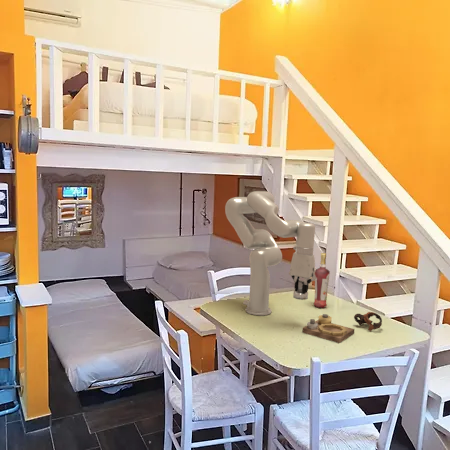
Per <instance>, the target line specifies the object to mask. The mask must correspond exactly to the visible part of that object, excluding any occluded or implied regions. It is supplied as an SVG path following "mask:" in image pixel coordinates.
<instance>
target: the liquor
mask: <svg viewBox="0 0 450 450" xmlns="http://www.w3.org/2000/svg"><path fill="white" fill-rule="evenodd" d="M326 259H327V253H326V252H321V253H320V263H319V264H320V265H319V268H317V269H316V268H315V276H316V280H314V302H313V305H314V306H315V308H318V309H324V308H326V307H327V306H328V304H327V298H328V291H329V281H330V274H331V273H330V272H331V271H330V270H329V269H328V268H326V267H327V265H326V264H327V263H326Z"/></svg>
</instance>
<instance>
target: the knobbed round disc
mask: <svg viewBox="0 0 450 450" xmlns="http://www.w3.org/2000/svg"><path fill="white" fill-rule="evenodd" d="M303 284H304V279H303V280H301V279H299V281H298V289H297V291H295V290H293V292H292V294H293V295H292V296H293V298H294V299H295V300H302V301H303V300H304V301H305V300H308V299H309V292H308V291H307V292H306V293H303Z"/></svg>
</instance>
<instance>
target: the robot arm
mask: <svg viewBox="0 0 450 450" xmlns="http://www.w3.org/2000/svg"><path fill="white" fill-rule="evenodd" d="M224 209H225V212H224V213H225V216H226V219H227V220H228V222H229V224H230V225H231V226H232V228H233V229H234V230H235V232H236V234H237V236H238V238H239V239H240V242H241V243H242V245H243V246H244V247H245V248H246V249H248V250H251V251H250V254H249V257H248V258H249V259H248V260H249V261H248V262H249V267H250V274H249V275H250V279H249V297H248V299H249V300H248V299H244V300H243V302H242V304H243V305H245V306H246V307H245V312H246V313H247V314H249V315H254V316H267V315H271V313H272V309H271V308H270V307H269V305H270V304H269V303H270V302H269V301H270V287H271V285H270V284H271V275H270V271H269V268H268V267H272V266H276V265H279V264H281V262H282V260H283V253H282V251H281V248H280V247H279V245H278V244H277V242H276V241H275V239H274V237H273V236H272V234H271V233H270V232H269V230H270V231H271V232H273V234H274V235H276V236H278V237H279V238H284V239H285V238H286V239H287V238H296V242H295V243H296V244H295V246H293V249H292V250H295V252H293V253H292V258H291V262H290V268H289V272H288V275H289V276H290V277H291V278H292V279H293V283H294V291H297V289H298V281H299V280H301V279H300V278H303V281H304V284H303V293H306V292H308V291H309V284H311V283H312V282H315V280H316V276H315V270H316V262H315V259H316V257H315V254H314V247H315V246H314V245H315V234H316V225H315V224H314V223H311V222H304V221H302V220H299V219H292V220H291V219H289V220H287V219H286V220H283V219H282V218H280V217H279V216H278V214H279V206H278V205H277V204H276V203H275V197H274V195H273V194H272V193H271V192H270V191H264V190H257V191H256V190H255V191H251V192H249V194H248V195H247V196H235V197H230V199H228V200H227V202H226V203H225V206H224ZM255 213H256V214H258V215H260V216H261V217H262V218H264V221H265V224H266V227H267V228H268V229H269V230H266V229H265V228H264V229H263V228H261V229H260V228H258V229H256V228H255V227H254V226H253V225H252V223H251V221H250V220H249V219H248V218H247V217H246V216H245V215H243V214H255Z"/></svg>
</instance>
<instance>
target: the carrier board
mask: <svg viewBox="0 0 450 450" xmlns="http://www.w3.org/2000/svg"><path fill="white" fill-rule="evenodd" d="M332 318H333V317H332V316H329V314H326V313H322V315H321V314H320V315H319V316H318V319H317V320H316V319H314V318H310V320H309V321H308V322H306V325H305V326H303V327H302V328H301V329H302V331H301V333H302V334H306V335H311V336H312V337H313V336H314V337H317V338H320V339H323V340H327V341H332V342H335V343H338V344H341V343H342V342H344V341H346V340H347V339H348V338H350V337H351V336H353V335H354V334H355V328H351V327H349V326H348V327H347V326H344V325H340V324H336V323H332Z"/></svg>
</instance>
